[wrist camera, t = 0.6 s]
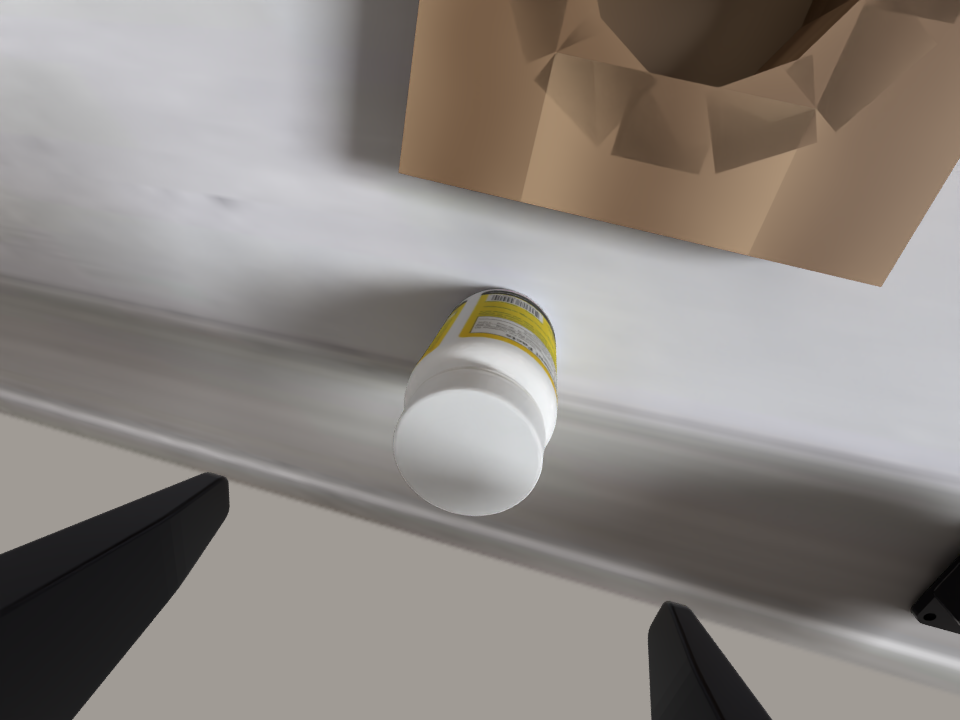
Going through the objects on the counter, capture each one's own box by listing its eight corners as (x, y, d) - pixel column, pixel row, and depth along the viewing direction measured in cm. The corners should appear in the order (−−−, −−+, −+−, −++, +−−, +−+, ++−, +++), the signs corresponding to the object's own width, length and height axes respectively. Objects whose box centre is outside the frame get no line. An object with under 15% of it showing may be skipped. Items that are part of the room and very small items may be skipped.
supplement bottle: (469, 402, 21) (419, 542, 13) (428, 308, 19) (343, 404, 12) (571, 373, 19) (582, 510, 12) (535, 270, 18) (520, 349, 10)
